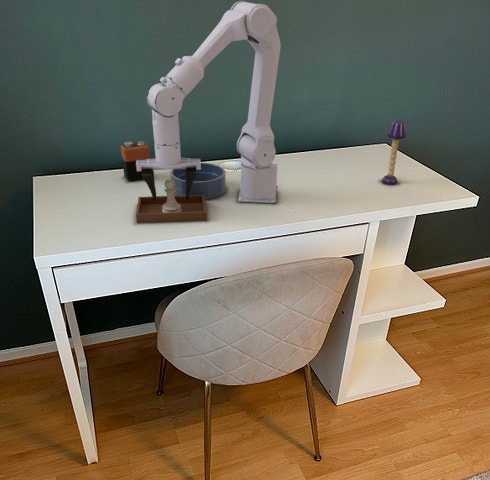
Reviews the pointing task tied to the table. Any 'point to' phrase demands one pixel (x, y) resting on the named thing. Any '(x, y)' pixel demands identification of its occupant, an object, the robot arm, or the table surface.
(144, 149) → the battery
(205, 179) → the bowl
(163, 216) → the tray
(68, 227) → the table surface
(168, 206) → the chess piece
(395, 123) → the toy lamp
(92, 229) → the table surface
